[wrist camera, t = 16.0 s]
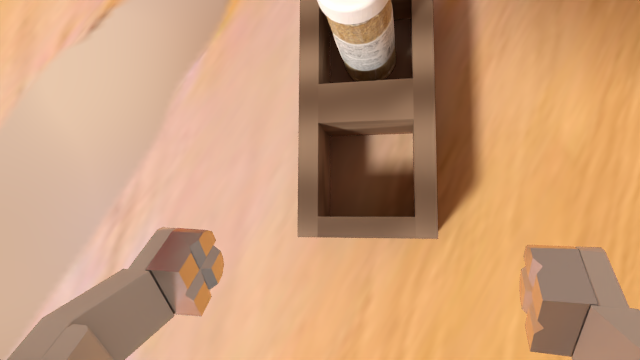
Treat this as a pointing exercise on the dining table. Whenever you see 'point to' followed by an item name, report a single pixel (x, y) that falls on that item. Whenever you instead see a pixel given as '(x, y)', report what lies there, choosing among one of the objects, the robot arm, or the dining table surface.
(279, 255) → the dining table surface
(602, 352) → the robot arm
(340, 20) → the sprinkles bottle
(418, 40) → the rail
